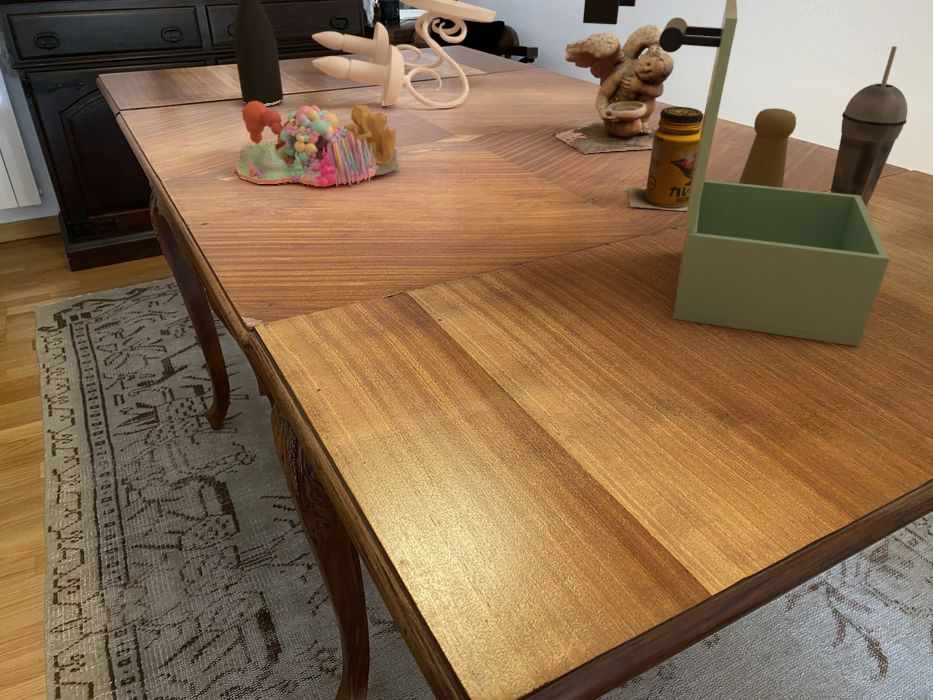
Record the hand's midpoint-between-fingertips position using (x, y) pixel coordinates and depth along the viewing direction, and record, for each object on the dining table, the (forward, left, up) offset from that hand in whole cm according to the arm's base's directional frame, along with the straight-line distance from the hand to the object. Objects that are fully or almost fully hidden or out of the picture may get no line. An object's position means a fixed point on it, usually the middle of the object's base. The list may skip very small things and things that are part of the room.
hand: (611, 14), depth 64 cm
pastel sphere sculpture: (+45, -24, -26) cm, 57 cm away
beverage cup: (-30, -31, -26) cm, 50 cm away
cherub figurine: (+5, -54, -26) cm, 60 cm away
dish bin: (-18, 0, -25) cm, 31 cm away
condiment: (-6, -25, -26) cm, 36 cm away
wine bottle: (+75, -57, -26) cm, 97 cm away
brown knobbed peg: (-19, -34, -26) cm, 47 cm away
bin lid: (-10, 0, -8) cm, 13 cm away
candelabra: (+53, -80, -26) cm, 99 cm away
